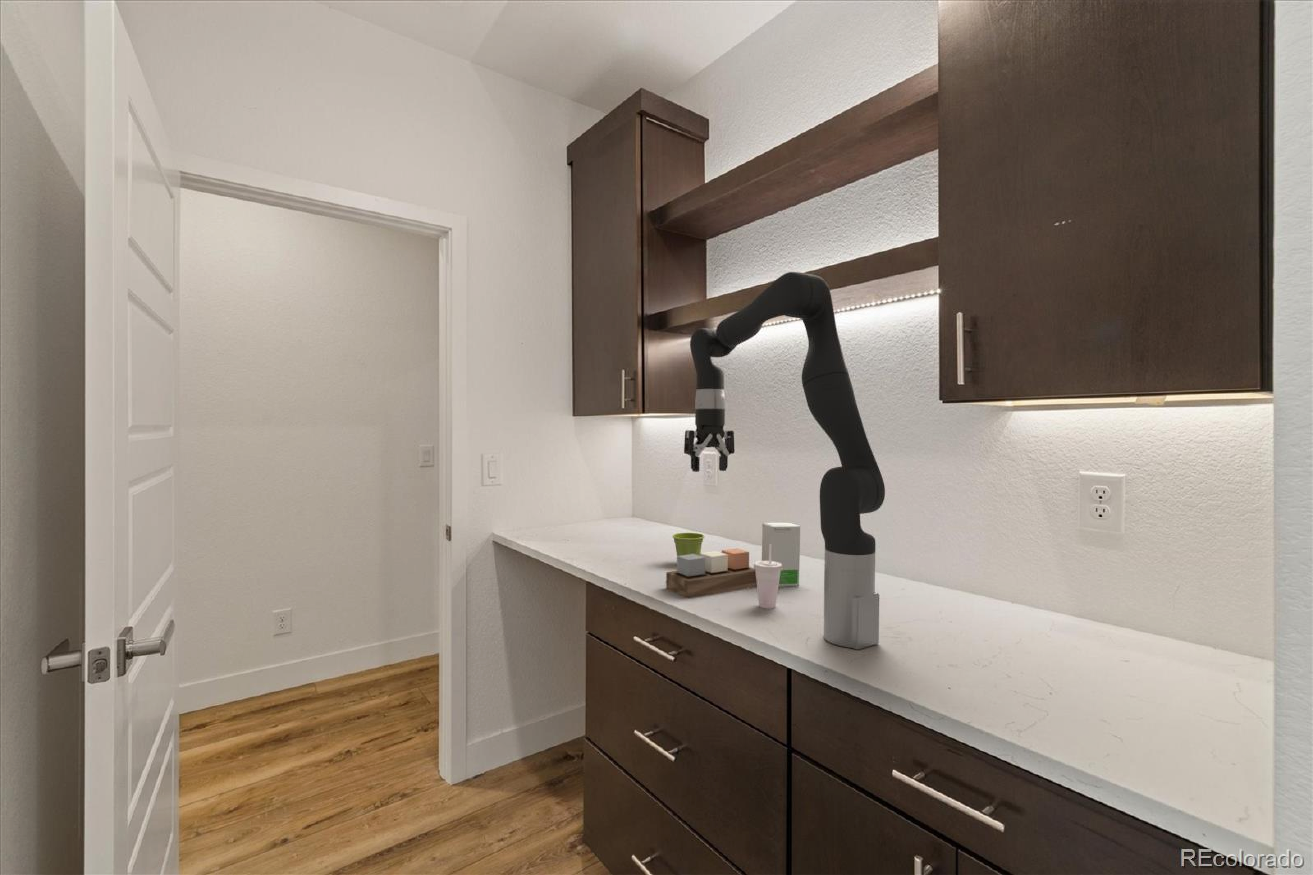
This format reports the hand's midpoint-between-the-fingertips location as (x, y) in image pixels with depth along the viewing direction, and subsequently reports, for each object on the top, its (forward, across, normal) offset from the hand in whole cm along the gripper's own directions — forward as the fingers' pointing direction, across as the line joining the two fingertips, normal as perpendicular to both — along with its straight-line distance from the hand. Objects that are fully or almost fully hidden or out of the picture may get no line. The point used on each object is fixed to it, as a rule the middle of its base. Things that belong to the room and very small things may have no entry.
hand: (709, 471), depth 151 cm
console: (+29, 0, -2) cm, 29 cm away
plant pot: (+30, +8, +21) cm, 37 cm away
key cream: (+25, 0, -2) cm, 25 cm away
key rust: (+25, +7, -2) cm, 26 cm away
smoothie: (+30, +1, -21) cm, 36 cm away
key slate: (+25, -7, -2) cm, 26 cm away
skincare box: (+30, +17, -8) cm, 35 cm away
